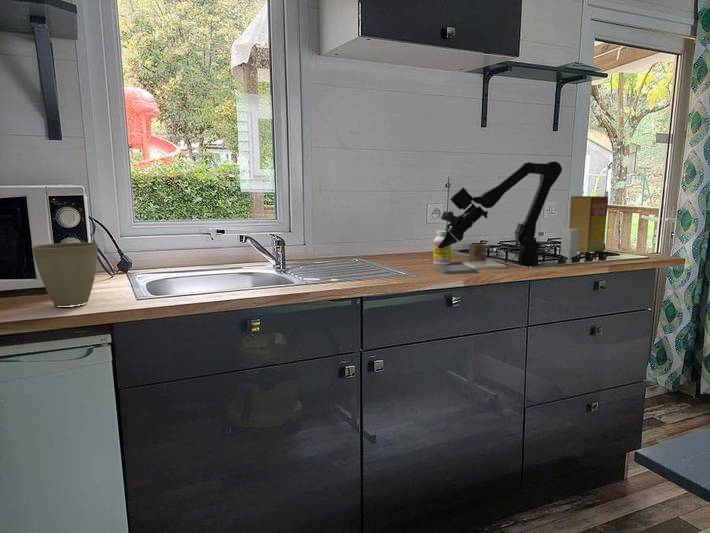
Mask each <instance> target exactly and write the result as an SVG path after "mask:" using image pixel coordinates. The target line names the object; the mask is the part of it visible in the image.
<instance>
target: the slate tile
mask: <svg viewBox="0 0 710 533" xmlns="http://www.w3.org/2000/svg"><path fill="white" fill-rule="evenodd" d="M432 268H433V269H434V270H435V271H437V272H440V273H441V274H444V275H452V274H454V273H456V274H475V273H476V274H477V273H478V269H474V268H472V267H469V266H466V265H463V264H447V265H433V266H432Z"/></svg>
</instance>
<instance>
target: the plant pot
mask: <svg viewBox="0 0 710 533" xmlns="http://www.w3.org/2000/svg"><path fill="white" fill-rule="evenodd" d="M31 250H32V254H33V256H34V260H35V264H36V267H37V271H38V273H39V276H40V279H41V280H42V283H43V286H44V288H45V290H46V292H47V294H48V296H49V298H50V300H51V302H52V303H53V305H54V306H55V305H56V306H70V305H78V304H83V303H86V302H89V299H90V296H91V293H92V289H93V286H94V281H95V276H96V270H97V266H98V265H97V264H98V255H99V243H97V242H60V243H47V244H46V243H45V244H39V245H33V246H31Z"/></svg>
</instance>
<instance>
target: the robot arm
mask: <svg viewBox="0 0 710 533" xmlns="http://www.w3.org/2000/svg"><path fill="white" fill-rule="evenodd" d="M562 171H563V167H562V165H561V164H560V162H557V161H550V162H545V163H541V162H540V163H537V162H536V163H535V162H529V161H528V162H524V163H523V164H522V165H521V166H520V167H519V168H518V169H517V170H515V171H514V172H513V173H511V174H510V175H509V176H508V177H507V178H505V179H504V180H502V182H501V183H499V184H498V185H496V186H494V187H492V188H491V189H489V190H487V191H485V192H483V193H481V194H480V195H479V196H472V195H471V194H470V193H469V192H468V191H467V189H466V188H465V187H462V188H461V189H459V190H458V192H455V194H453V195H452V196H451V197H450V199H449V200H450V201H451V203H453V205H454V206H455V207H456V208H457V209H458V210H464V212H463V213H462V214H459V215H457V216H456V215H454V212H453V211H451V210H449V211H446V210H443V212H442V214H441V216H440V219H441V220H443V221H446V222H449V223H448V224H446V226H445V229H444V231H446V237H445V238H444V239H443V241H442V242H441V243H440V245H439V246H438V248H439V249H441V248H444V247H446V246H449V245H451V246H452V245H453V244H456V243H458V242H461V241H462V240H463V239H464V234H465V233H466V232H467V231H468V230H469V229H470V228H472V227H473V225H474V224H475V223H476V222H477V221H478V220H479V219H480V218H482V217H483V218H484V219H488V213H489V211H488V210H484V209H483V208H485V209H492V208H493V207H494V206H495V205H496V204H497V203H498V202H499V201H500V200H501V198H502V197H503V195H505V193H507V192H509V191H510V189H512V188H513V187H515V185H517V184H518V183H519V182H521V180H523V179H524V178H525V177H527V176H528V175H529V174H531V175H532V174H535V175H539V182H538V187H537V189H536V191H535V194H534V197H533V200H532V202H531V205H530V207H529V208H528V211H527V214H526V216H525V219H524V221H523V222H522V223H520V222H518V223H517V226H516V230H515V231H514V232H513V233H514V239H515V241H516V242H517V243H518V244H519V246H520V248H519V251H518V253H517V262H516V264H519V265H520V266H525V267H529V266H531V267H533V266H541V263H539V257H540V256H539V254H540V246H541V244H540V243H539V242H538V241H537V240H536V239H535V235H536V227H537V222H538V219H539V217H540V215H541V213H542V210H543V207H544V205H545V203H546V200H547V197H548V194H549V193H550V189H551V188H552V187H553V185H554V184H555V183H556V182H557V181H558V178H559V177H560V175H561V174H562ZM474 203H475V204H479V205H478V206H476V205H475V204H474ZM448 231H449V232H448Z"/></svg>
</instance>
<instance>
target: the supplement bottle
mask: <svg viewBox="0 0 710 533" xmlns="http://www.w3.org/2000/svg"><path fill="white" fill-rule="evenodd" d="M448 232H449V231H448ZM445 237H446V231H445V229H444V230H442V229H441V230H436V237H434V239H433V256H432V257H433V264H435V265H437V266H440V265H451V259H452V244H451V245H449V246H446V247H444V248H441V249H439V248H438V246H439V245H440V243H441V242H442V241H443V239H444V238H445Z"/></svg>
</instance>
